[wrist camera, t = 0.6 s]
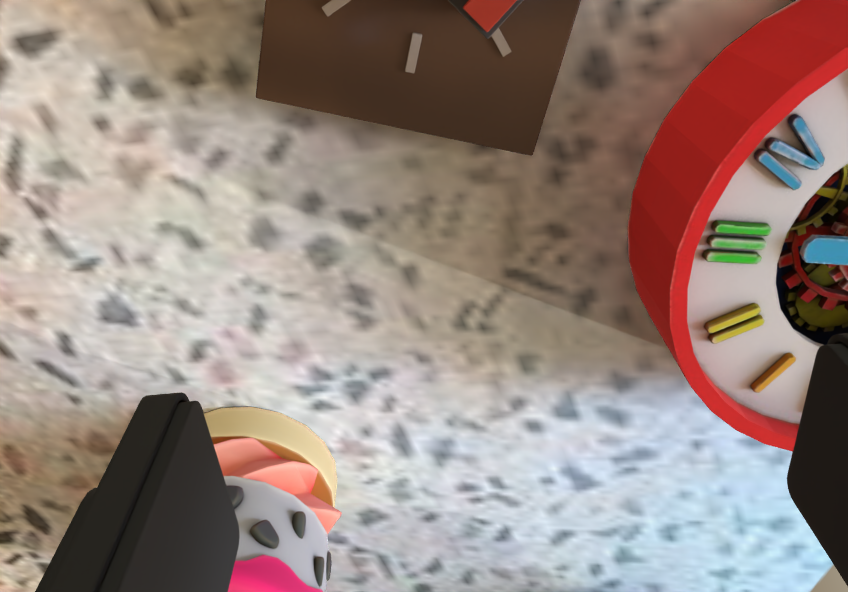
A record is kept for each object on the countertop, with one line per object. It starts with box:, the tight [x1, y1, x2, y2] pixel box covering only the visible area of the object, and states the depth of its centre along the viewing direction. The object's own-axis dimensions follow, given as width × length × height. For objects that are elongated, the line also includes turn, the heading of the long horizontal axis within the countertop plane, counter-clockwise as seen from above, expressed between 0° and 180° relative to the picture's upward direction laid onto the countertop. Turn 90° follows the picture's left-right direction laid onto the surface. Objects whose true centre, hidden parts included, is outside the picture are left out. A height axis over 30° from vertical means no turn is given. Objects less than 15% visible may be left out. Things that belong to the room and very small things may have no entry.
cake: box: [204, 407, 341, 592], centre depth 33 cm, size 10×11×15 cm
